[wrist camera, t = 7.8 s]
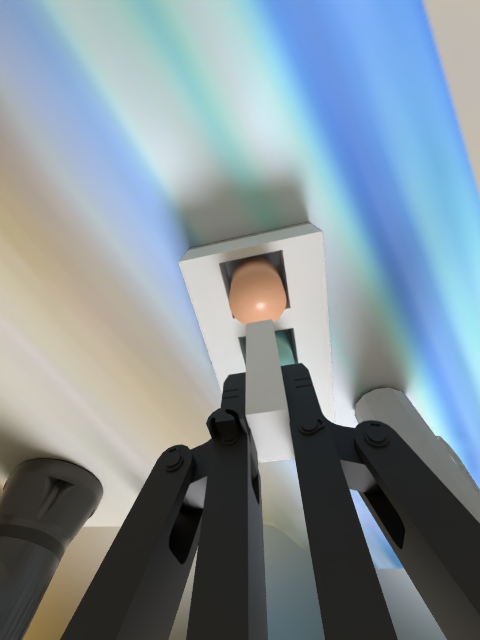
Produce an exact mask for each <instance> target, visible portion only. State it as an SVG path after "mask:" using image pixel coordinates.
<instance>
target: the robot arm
mask: <svg viewBox="0 0 480 640" xmlns="http://www.w3.org/2000/svg"><path fill="white" fill-rule="evenodd" d="M206 424H207V427H208V429H209V432H210V435H211V437H212V438H211V439H210V440H209V441H208V442H206V443H204V444H202V445H200V446H198V447H196V448H193V449H191V450H190V449H189V448H188V447H187V446H185V445H175V446H172V447H170V448H168V449H167V450H166V451H164V452H163V453H162V454H161V456H160V457H159V459H158V460H157V462H156V464H155V466H154V467H153V469H152V471H151V473H150V475H149V477H148V478H147V480H146V482H145V484H144V486H143V488H142V490H141V491H140V493H139V495H138V497H137V499H136V501H135V502H134V504H133V506H132V508H131V510H130V512H129V514H128V515H127V517H126V519H125V521H124V523H123V525H122V526H121V529H120V530H119V532H118V534H117V536H116V538H115V540H114V541H113V543H112V545H111V547H110V549H109V550H108V552H107V554H106V556H105V558H104V560H103V562H102V563H101V565H100V567H99V569H98V571H97V573H96V574H95V576H94V578H93V580H92V582H91V584H90V586H89V588H88V589H87V591H86V593H85V595H84V597H83V598H82V600H81V602H80V604H79V606H78V608H77V610H76V612H75V613H74V615H73V617H72V619H71V621H70V622H69V624H68V626H67V628H66V630H65V632H64V634H63V635H62V637H61V639H60V640H168V639H169V636H170V632H171V629H172V626H173V623H174V620H175V617H176V613H177V610H178V607H179V604H180V601H181V598H182V595H183V591H184V588H185V585H186V582H187V579H188V576H189V573H190V569H191V566H192V563H193V560H194V557H195V554H196V550H197V547H198V552H197V560H196V568H195V576H194V583H193V592H192V598H191V606H190V614H189V621H188V629H187V638H186V640H268V630H267V608H266V586H265V564H264V543H263V522H262V500H261V479H260V474H259V470H258V460H259V463H261V462H270V461H279V460H288V459H295V461H296V467H297V473H298V479H299V485H300V491H301V497H302V503H303V509H304V515H305V521H306V527H307V533H308V539H309V545H310V551H311V557H312V563H313V569H314V575H315V581H316V587H317V593H318V599H319V605H320V610H321V617H322V623H323V629H324V635H325V640H398V639H397V636H396V633H395V630H394V627H393V624H392V620H391V617H390V614H389V611H388V608H387V605H386V602H385V599H384V596H383V593H382V589H381V586H380V584H379V580H378V577H377V574H376V571H375V568H374V565H373V562H372V558H371V555H370V552H369V549H368V546H367V543H366V540H365V537H364V534H363V531H362V527H361V524H360V521H359V518H358V515H357V512H356V509H355V506H354V503H353V500H352V497H351V493H350V490H349V489H353V490H357V491H358V492H359V494H360V496H361V497H362V499H363V501H364V502H365V504H366V506H367V507H368V509H369V511H370V512H371V514H372V516H373V517H374V519H375V521H376V522H377V524H378V526H379V527H380V529H381V531H382V532H383V534H384V536H385V537H386V539H387V541H388V542H389V544H390V546H391V547H392V549H393V550H394V552H395V554H396V555H397V557H398V559H399V560H400V562H401V564H402V565H403V567H404V569H405V570H406V572H407V574H408V575H409V577H410V579H411V580H412V582H413V584H414V585H415V587H416V589H417V590H418V592H419V594H420V595H421V597H422V599H423V600H424V602H425V604H426V605H427V607H428V608H429V610H430V612H431V613H432V615H433V617H434V618H435V620H436V622H437V623H438V625H439V627H440V628H441V630H442V632H443V633H444V635H445V637H446V638H447V640H480V523H479V522H478V521H477V520H476V519H475V517H474V516H473V515H472V514H471V513H470V512H469V511H468V510H467V509H466V508H465V506H464V505H463V504H462V503H461V502H460V501H459V500H458V499H457V498H456V497H455V496H454V494H453V493H452V492H451V491H450V490H449V489H448V488H447V487H446V486H445V485H444V484H443V482H442V481H441V480H440V479H439V478H438V477H437V476H436V475H435V474H434V473H433V471H432V470H431V469H430V468H429V467H428V466H427V465H426V464H425V463H424V462H423V461H422V459H421V458H420V457H419V456H418V455H417V454H416V453H415V452H414V451H413V450H412V449H411V447H410V446H409V445H408V444H407V443H406V442H405V441H404V440H403V439H402V438H401V437H400V435H399V434H398V433H397V432H396V431H395V430H394V429H393V428H391V427H390V426H389V425H387V424H385V423H383V422H380V421H374V420H368V421H363V422H361V423H359V424H358V425H357V426H356V428H351V427H344V426H340V425H336V424H334V423H332V422H331V421H329V420H328V419H327V418H326V417H325V416H324V415H323V413H322V411H321V407H320V404H319V401H318V398H317V395H316V392H315V389H314V386H313V382H312V379H311V376H310V373H309V370H308V368H307V367H306V366H304V365H303V364H302V363H297V364H290V365H284V366H281V365H280V360H279V354H278V348H277V343H276V337H275V332H274V326H273V321H272V319H269V320H264V321H258V322H252V323H247V324H246V372H243V373H237V374H230V375H228V377H227V378H226V380H225V381H224V384H223V393H222V402H221V408H219V409H217V410H216V411H214V412H213V413H212V414H211V415H210V416H209V417H208V420H207V423H206ZM102 496H103V489H102V486H101V484H100V483H99V481H98V480H97V479H96V478H95V477H94V476H93V475H92V474H90V473H89V472H87V471H86V470H84V469H82V468H80V467H78V466H76V465H74V464H71V463H68V462H64V461H60V460H54V459H33V460H29V461H26V462H23V463H21V464H20V465H19V466H18V467H17V468H16V469H15V470H14V472H13V473H12V474H11V475H10V477H9V478H8V479H7V481H6V483H5V485H4V488H3V492H2V494H1V497H0V640H23V638H24V636H25V634H26V632H27V630H28V628H29V625H30V623H31V621H32V619H33V617H34V615H35V613H36V611H37V609H38V607H39V604H40V602H41V600H42V598H43V596H44V594H45V592H46V590H47V588H48V586H49V583H50V582H51V579H52V577H53V575H54V573H55V571H56V569H57V567H58V565H59V563H60V560H61V558H62V556H63V554H64V552H65V550H66V548H67V547H68V545H69V544H70V543H71V541H72V540H73V539H74V537H75V536H76V535H77V533H78V532H79V530H80V529H81V528H82V526H83V525H84V524H85V522H86V521H87V519H89V518H90V517H91V516H92V515H93V514H94V513H95V511H96V509H97V507H98V505H99V503H100V501H101V499H102Z"/></svg>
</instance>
